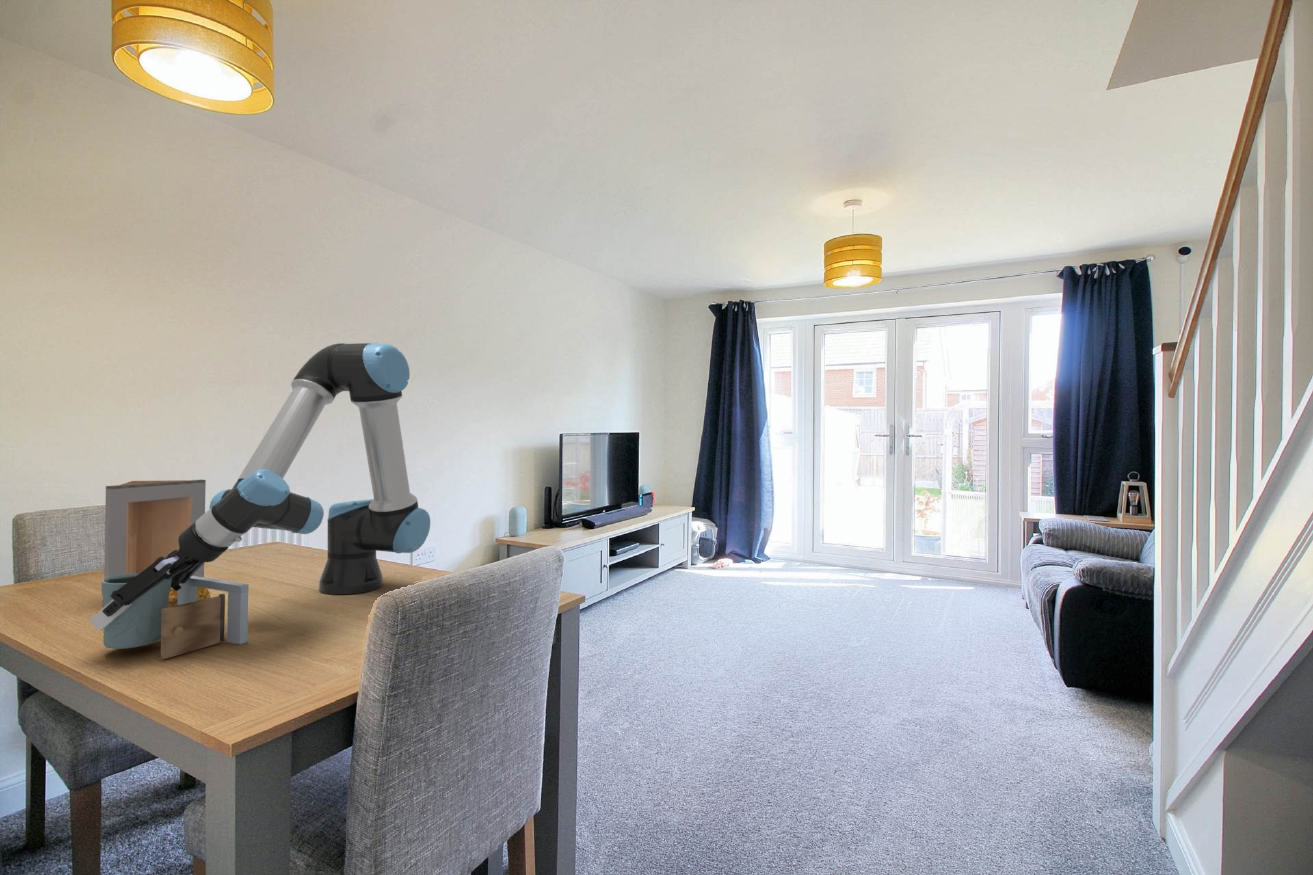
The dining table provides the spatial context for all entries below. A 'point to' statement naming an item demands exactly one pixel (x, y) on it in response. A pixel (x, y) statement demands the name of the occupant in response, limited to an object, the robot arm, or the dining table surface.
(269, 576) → the dining table surface
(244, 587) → the grey rectangular arch
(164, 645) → the door
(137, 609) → the teal cup
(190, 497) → the cabinet
